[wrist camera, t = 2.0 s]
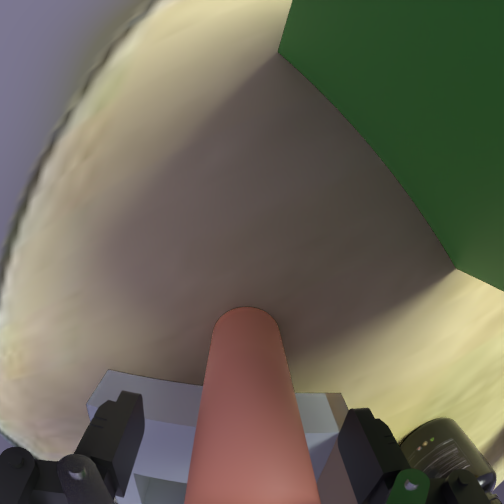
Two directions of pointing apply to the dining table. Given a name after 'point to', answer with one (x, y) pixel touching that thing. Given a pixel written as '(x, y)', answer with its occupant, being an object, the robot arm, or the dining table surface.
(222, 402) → the peg
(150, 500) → the socket
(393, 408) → the dining table surface
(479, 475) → the supplement bottle
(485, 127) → the hardback book
